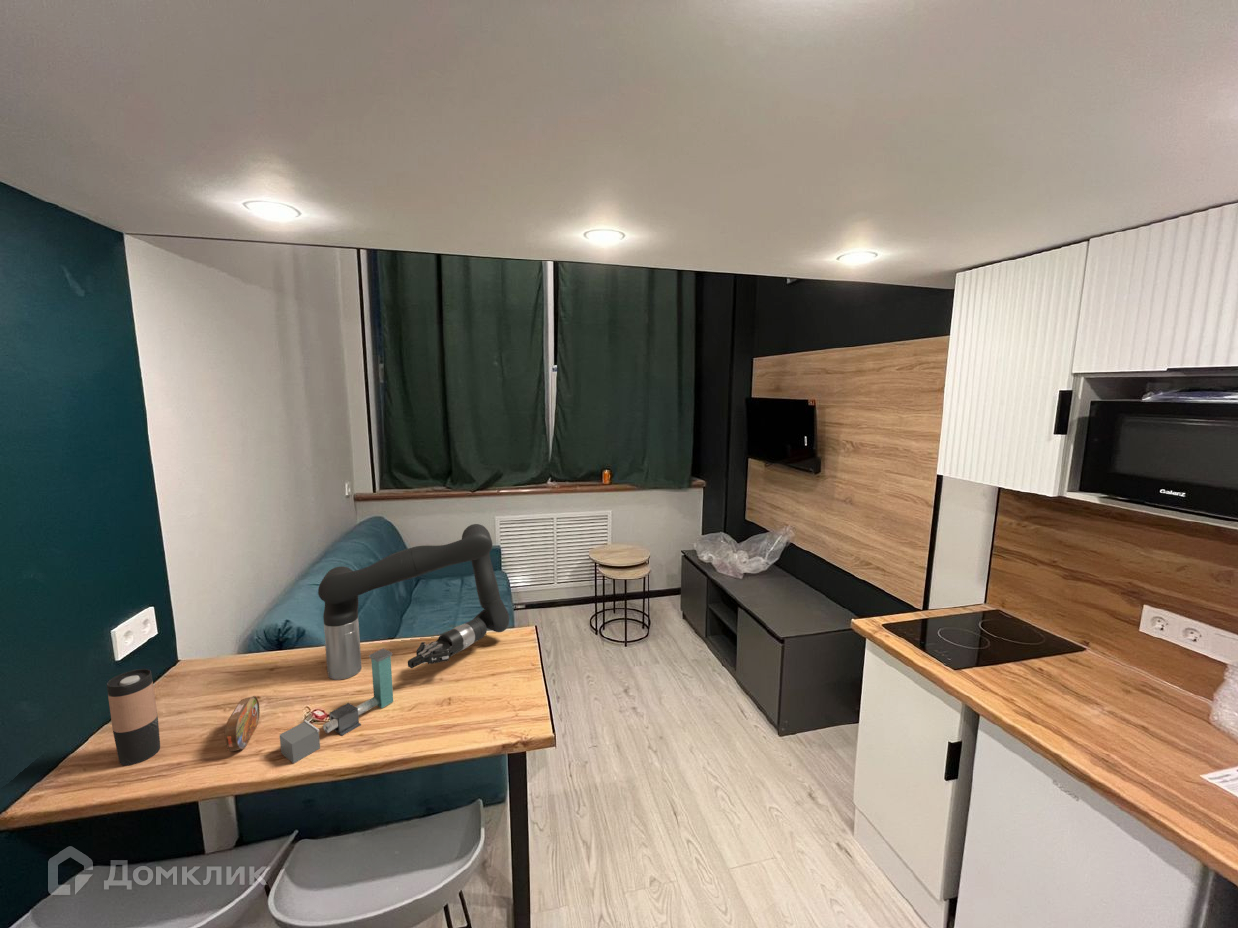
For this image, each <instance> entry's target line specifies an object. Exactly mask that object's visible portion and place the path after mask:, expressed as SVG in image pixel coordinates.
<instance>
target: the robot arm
mask: <svg viewBox="0 0 1238 928" xmlns="http://www.w3.org/2000/svg"><path fill="white" fill-rule="evenodd" d="M492 549H493V540H492V536H491V534H490V532H489V530H488V529H487V527H486V526H484V525H482V524H480V523H473V524H470V525H468V526H467V527H466V528H465V529H464V530H463V532H462V534H461V539H459V540H456V541H452V542H451V543H446V544H441V545H428V544H427V545H415V546H412V547H410V548H406V549H403V550H399V551H397V552H394V553H391V554H390V555H387V556H386V557H383V558H382V559H380V560H378V561H376V562H374V563H372V564H371V565H369V566H366V567H364V568H361V569H356V570H352V569H351V568H349V567H348V566H342V565H340V566H336V567H333V568H331V569H330V570H329V571H327V572H326V574H325V575H324V576H323V578H322V580H321V581H320V583H319V586H318V589H317V595H318V597H319V598H320V600H321V601H322V602H324V607H323V608H324V609H323V616H322V618H323V629H324V641H325V646H324V648H325V659H326V669H327V670H326V671H327V676H328V678H329V679H331V680H338V681H339V680H345V679H348V678H351V677H354V676H356V675H357V674H359V673H360V672H361V671H362V657H361V656H362V653H361V641H360V637H361V636H360V625H359V596H360V595H363V594H365V593H368V592H370V591H373V590H376V589H380V588H382V587H383V588H384V587H387V586H391V585H393V584H397V583H400V582H403V581H406V580H410V579H414V578H417V577H419V576H423V575H425V574H428V573H431V572H435V571H438V570H441V569H443V568H446V567H449V566H453V565H458V564H462V563H467V562H471V565H472V568H473V569H472V570H473V575H474V582H475V587H476V592H477V597H478V600H479V605H480V606H481V608H482V610H481V611H480V612H479V613H478V614H477V615H475V616H474V618H472V619H471V620H469V621H467V622H465V623H463V624H461V625H457V626H455V627H454V628H451V629H449V630H447V631H445V632H443V633H441V634H440V635H439V636H438V638H437V640H434V641H431V642H430V643H428V644H426V642H425V641H423V642H422V641H421V643H420V644H419V645H418V647H417V649H416V652H415V653H416V655H415V656H414V657H412V658H410V659H408V660H407V667H408V668H410V669H414V668H416V667H418V666H420V665H421V664H424V665H425V664H428V665H434V664H440V663H445V662H448V661H449V658H452V657H453V656H454V655H456V654H458V653H460V652H462V651H463V650H465V649H467V648H469V647H470V646H471V645H472V644H475V643H476V642H478V641H480V640H481V639H483V638H484V637H485V636H486V634H487V632H488V630H490V631H493V632H496V633H502V632H505V631H506V629H508V627H509V623H510V615H509V611H508V610H507V608H506V606H505V604H504V602H503V600H502V599H501V594H500V590H499V585H498V582H497V578H496V575H495V571H494V568H493V564H492V561H491V555H490V552H491V551H492Z"/></svg>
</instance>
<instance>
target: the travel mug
mask: <svg viewBox="0 0 1238 928" xmlns="http://www.w3.org/2000/svg"><path fill="white" fill-rule="evenodd" d="M154 687H155V686H154V682H153V676H152V671H151V669H147V668H143V669H142V668H140V669H133V670H129V671H126V672H123V673H121V674H118V675H115V676H114V677H112V678H111V679H110V680H108V681H107V683H106V690H107V697H108V698H107V699H108V705H109V713H110V719H111V726H112V727H111V728H112V733H113V738H114V742H115V748H116V754H117V758H118V761H119V764H120V765H122V766H133V765H137V764H140V763H142V762H145V761H147V760H149V759H150V758H152V757H154V756H156V754H158V753H159V752H160V749H161V739H160V738H161V737H160V726H159V716H158V714H159V713H158V708H157V701H156V694H155V689H154Z"/></svg>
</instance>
